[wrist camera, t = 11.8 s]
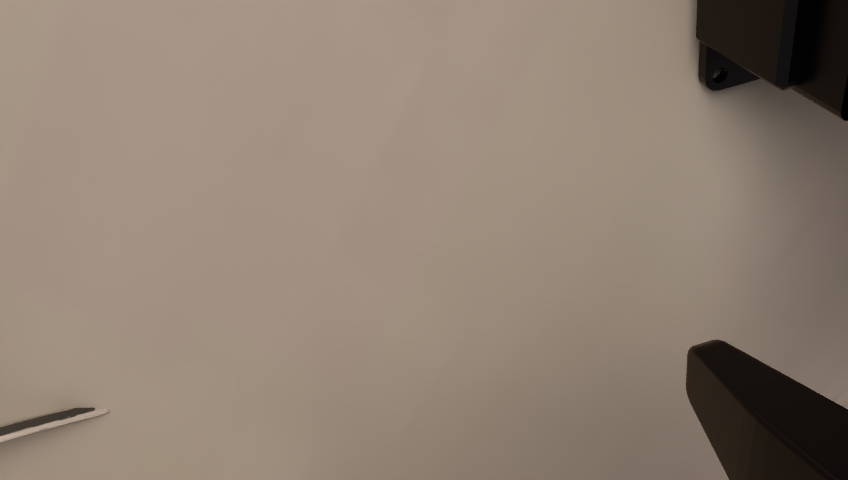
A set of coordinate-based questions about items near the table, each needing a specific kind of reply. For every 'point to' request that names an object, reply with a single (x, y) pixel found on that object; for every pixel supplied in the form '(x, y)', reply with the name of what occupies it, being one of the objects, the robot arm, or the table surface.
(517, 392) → the table surface
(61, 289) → the table surface
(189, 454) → the table surface
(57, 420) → the sunglasses
